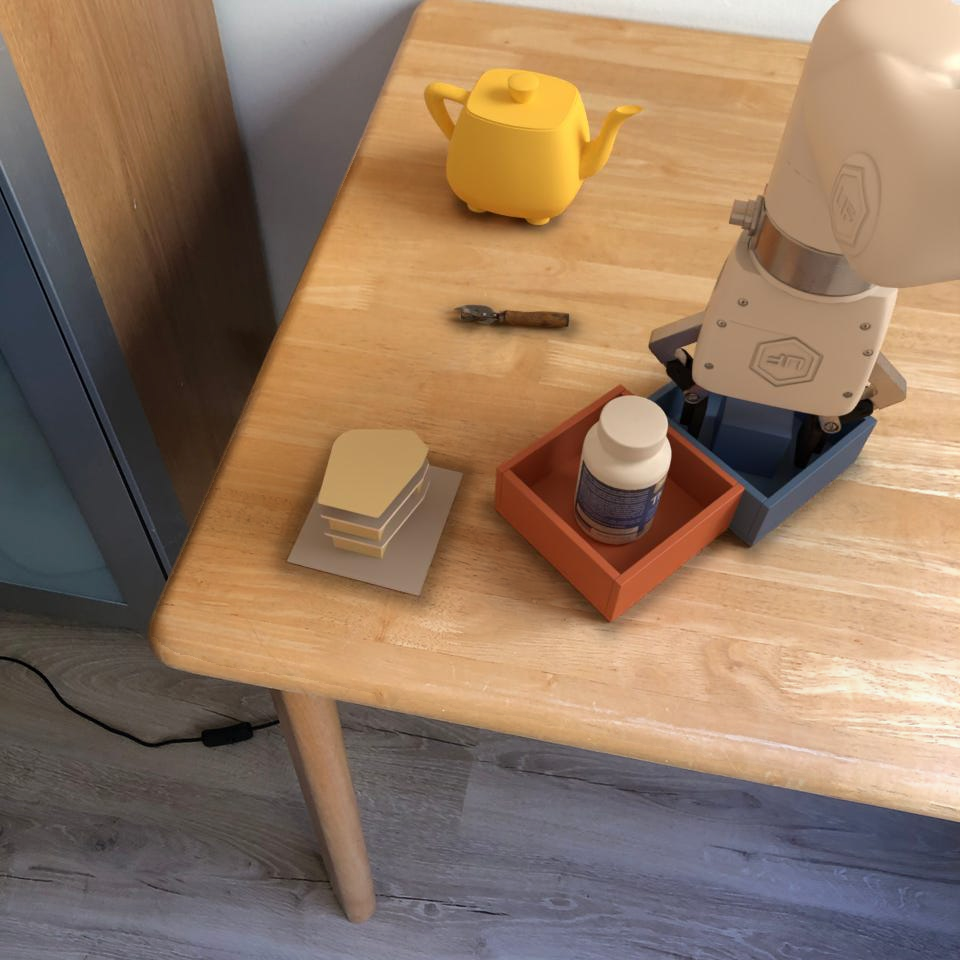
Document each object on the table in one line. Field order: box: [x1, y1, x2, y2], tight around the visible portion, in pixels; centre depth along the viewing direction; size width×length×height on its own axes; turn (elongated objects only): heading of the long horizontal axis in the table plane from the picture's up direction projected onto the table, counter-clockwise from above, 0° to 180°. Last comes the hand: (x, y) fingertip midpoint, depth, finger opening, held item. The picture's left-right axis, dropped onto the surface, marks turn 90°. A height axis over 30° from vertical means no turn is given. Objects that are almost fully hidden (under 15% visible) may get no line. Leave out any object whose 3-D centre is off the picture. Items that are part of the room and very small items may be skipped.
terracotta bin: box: [493, 383, 745, 623], centre depth 63 cm, size 11×11×5 cm
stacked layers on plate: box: [286, 428, 464, 597], centre depth 62 cm, size 10×9×6 cm
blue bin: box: [645, 379, 878, 548], centre depth 66 cm, size 11×11×5 cm
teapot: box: [423, 68, 644, 226], centre depth 80 cm, size 18×11×11 cm, turn 73°
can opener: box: [453, 304, 570, 328], centre depth 75 cm, size 9×2×1 cm, turn 80°
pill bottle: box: [574, 395, 671, 545], centre depth 60 cm, size 5×5×10 cm
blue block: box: [710, 395, 794, 478], centre depth 66 cm, size 4×4×4 cm
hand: (746, 439), depth 67 cm, fingers open, 6 cm apart
